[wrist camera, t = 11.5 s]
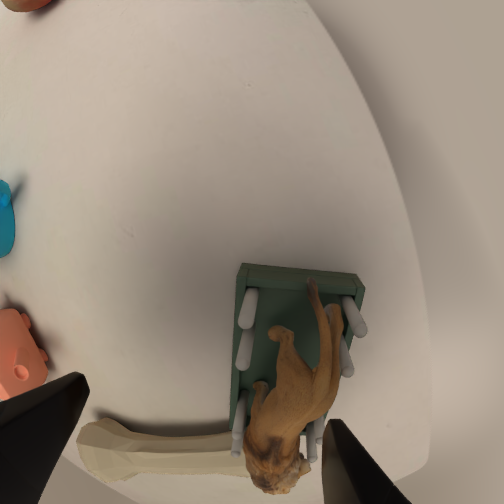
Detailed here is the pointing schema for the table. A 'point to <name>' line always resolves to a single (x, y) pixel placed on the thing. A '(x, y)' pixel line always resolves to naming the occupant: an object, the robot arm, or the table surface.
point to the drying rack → (292, 318)
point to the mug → (6, 220)
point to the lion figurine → (292, 402)
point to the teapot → (19, 356)
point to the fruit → (24, 5)
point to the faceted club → (154, 453)
